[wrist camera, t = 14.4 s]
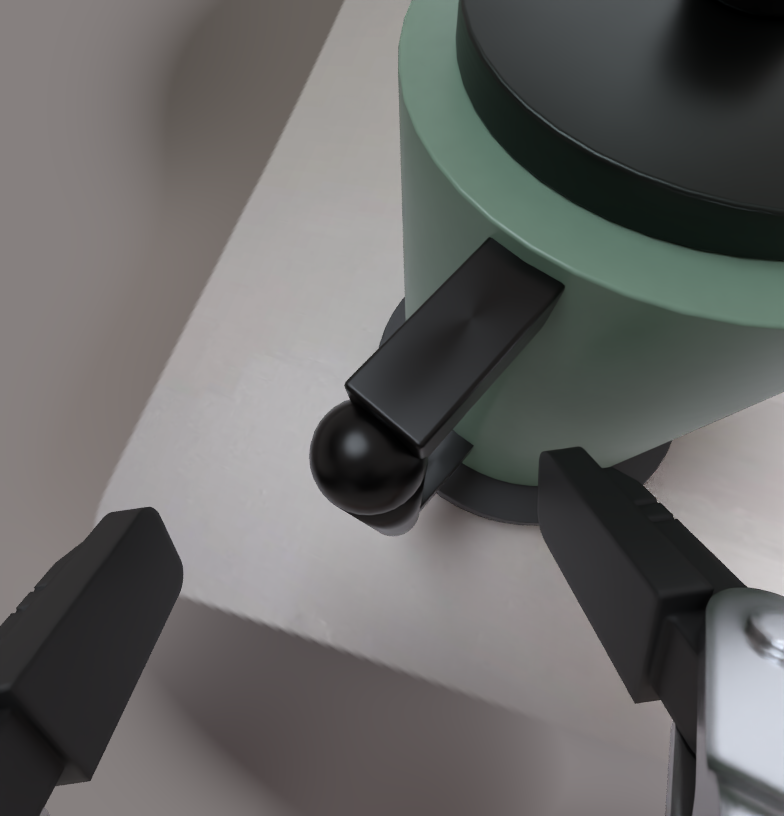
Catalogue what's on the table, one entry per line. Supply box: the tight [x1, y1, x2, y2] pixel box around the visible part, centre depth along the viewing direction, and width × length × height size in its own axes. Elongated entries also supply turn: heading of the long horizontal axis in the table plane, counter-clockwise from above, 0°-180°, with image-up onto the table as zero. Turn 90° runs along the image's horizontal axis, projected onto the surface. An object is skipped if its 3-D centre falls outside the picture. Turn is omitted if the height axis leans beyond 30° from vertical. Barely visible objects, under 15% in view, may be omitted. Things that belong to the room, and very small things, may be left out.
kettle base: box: [379, 297, 672, 525], centre depth 20 cm, size 14×14×1 cm
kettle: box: [309, 0, 784, 536], centre depth 12 cm, size 19×11×15 cm, turn 138°
